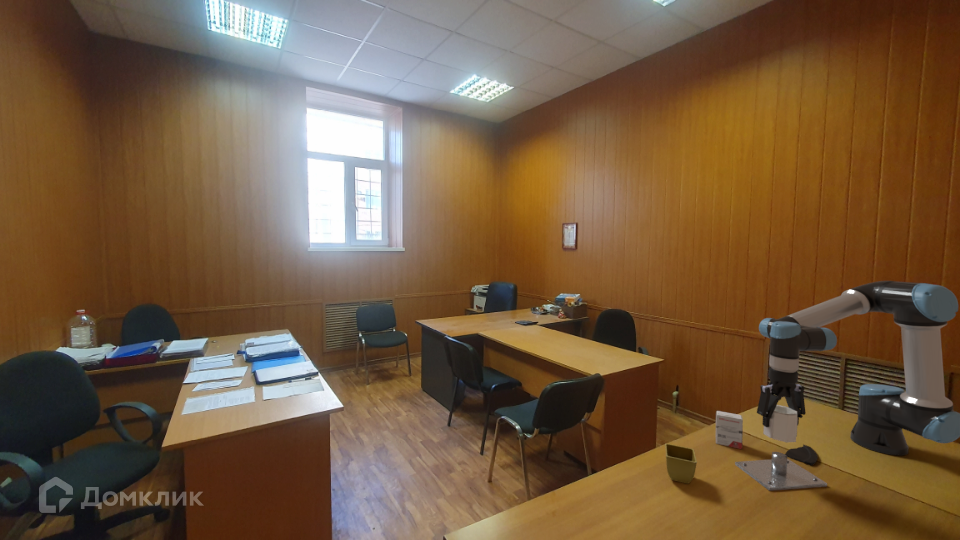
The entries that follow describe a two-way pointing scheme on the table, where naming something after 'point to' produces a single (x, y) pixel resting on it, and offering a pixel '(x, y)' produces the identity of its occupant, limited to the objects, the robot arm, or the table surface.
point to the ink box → (729, 429)
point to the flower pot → (680, 463)
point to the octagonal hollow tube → (784, 424)
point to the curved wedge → (803, 455)
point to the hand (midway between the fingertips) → (779, 435)
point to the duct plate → (780, 481)
